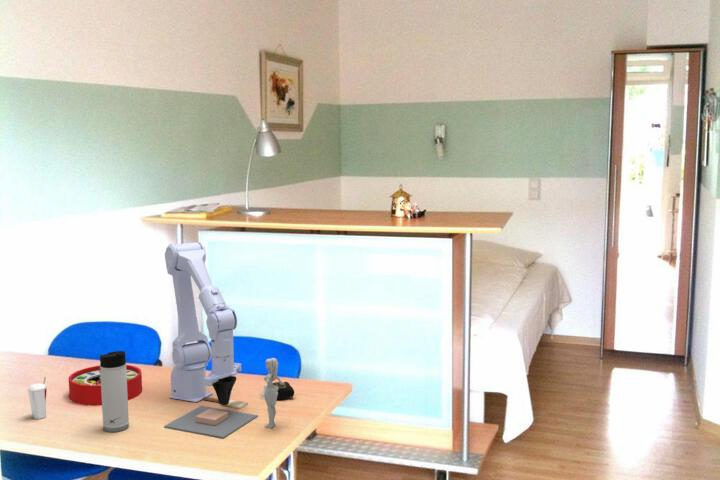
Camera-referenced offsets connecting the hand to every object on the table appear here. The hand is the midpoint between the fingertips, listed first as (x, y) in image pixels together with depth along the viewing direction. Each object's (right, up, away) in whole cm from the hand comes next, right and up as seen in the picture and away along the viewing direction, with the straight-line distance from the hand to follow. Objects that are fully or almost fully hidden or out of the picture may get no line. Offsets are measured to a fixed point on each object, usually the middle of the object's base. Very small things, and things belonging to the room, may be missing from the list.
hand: (223, 404), depth 201 cm
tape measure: (+14, -1, +14) cm, 20 cm away
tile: (-1, -2, -2) cm, 3 cm away
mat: (-2, -4, -5) cm, 6 cm away
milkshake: (-49, -3, -1) cm, 49 cm away
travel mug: (-26, -4, -9) cm, 28 cm away
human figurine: (+14, -4, -8) cm, 17 cm away
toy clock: (-37, -1, +17) cm, 41 cm away
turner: (-2, -2, +9) cm, 9 cm away
